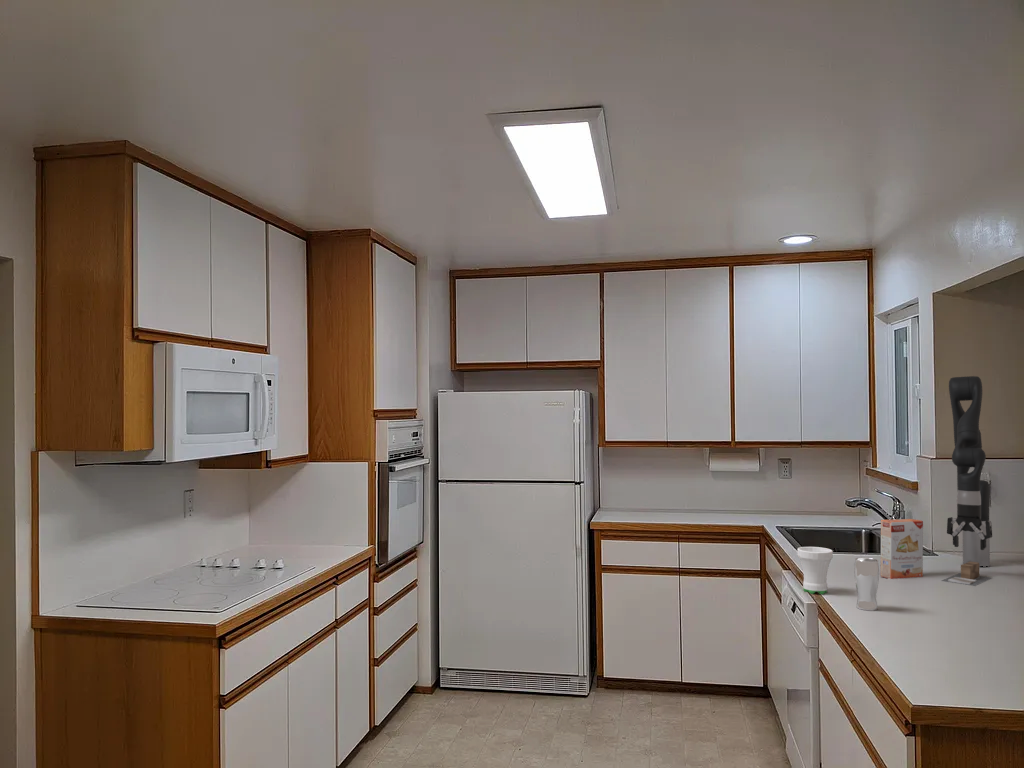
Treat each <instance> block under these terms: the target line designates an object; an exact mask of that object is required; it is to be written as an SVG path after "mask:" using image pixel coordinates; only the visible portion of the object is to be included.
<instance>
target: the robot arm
mask: <svg viewBox="0 0 1024 768" xmlns="http://www.w3.org/2000/svg"><path fill="white" fill-rule="evenodd" d="M948 392H949V398H950V405H951V407H950V408H951V410H952V411H951V412H952V421H953V426H952V427H953V440H954V449H953V452H952V454H951V461H952V463H953V465H955V467H956V470H957V471H956V474H957V475H956V477H957V478H956V480H957V481H956V482H957V483H956V484H957V485H956V486H957V488H956V489H957V495H956V503H957V504H956V505H957V506H956V515H957V516H956V518H954V517H947V521H946V522H947V523H946V534H947V535H950V536H951V537H952V545H953V546H954V547H955V548H958V547H959V545H960V544H959V543H960V541H959V539H960V538H959V536H958V535H959V534H960V533H961V532H962V564H965V563H968V562H970V561H971V562H978V563H979V566H983V567H982V568H985V567H986V566H988V567H991V561H990V559H991V557H990V555H991V553H990V551H991V549H990V548H991V547H990V539H992V537H993V528H992V527H993V525H992V521H991V520H990V501H991V500H990V499H991V486H990V483H989V481H987V480H984V479H983V480H982V479H981V475H982V471H983V468H984V465H985V463H986V458H987V455H986V452H985V451H984V449H983V443H982V442H983V441H982V433H981V431H980V417H981V416H980V415H981V410H982V402H983V401H982V400H983V383H982V379H981V378H980V377H979V376H976V375H973V376H972V375H971V376H952V377H951V378H950V379H949V381H948ZM962 401H963V402H964V401H968V402H969V401H971V403H970V405H969V407H968V408H967V410H966V411H965V410H964V408H963V406H962V403H961V402H962ZM971 468H973V470H972V471H971V472H969V470H970V469H971ZM955 523H957V525H958V527H956V528H955V530H954V524H955ZM986 568H987V567H986Z"/></svg>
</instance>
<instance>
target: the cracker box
mask: <svg viewBox="0 0 1024 768" xmlns="http://www.w3.org/2000/svg"><path fill="white" fill-rule="evenodd" d="M923 558H924V521H923V520H921V519H916V518H915V519H914V518H903V519H900V518H898V519H894V518H893V519H880V577H882V578H884V579H890V580H894V579H908V578H923V575H924V574H923V571H924V570H923V568H924V566H923V565H924V563H923V562H924V559H923Z"/></svg>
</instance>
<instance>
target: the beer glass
mask: <svg viewBox="0 0 1024 768" xmlns="http://www.w3.org/2000/svg"><path fill="white" fill-rule="evenodd" d="M879 566H880V565H879V560H878V559H877V558H872V557H856V558H854V581H855V587H856V591H857V602H856V608H857V609H858V610H861V611H867V612H872V611H873V612H875V611H878V608H879V607H878V601H877V595H878V594H877V593H878V589H879V582H880V567H879Z"/></svg>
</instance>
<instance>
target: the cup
mask: <svg viewBox="0 0 1024 768" xmlns="http://www.w3.org/2000/svg"><path fill="white" fill-rule="evenodd" d="M797 557H798V558H799V561H800V564H801V567H802V570H803V571H802V572H803V582H802V585H803V586H802V589H803V592H804V593H809V594H810V595H814V594H816V593H818V594H819V595H824V594H827V593H828V582H827V580H828V578H827V577H828V571H829V567H830V563H831V561H832V560H833V557H834V555H833V550H832V549H830V548H826V547H821V546H820V547H819V546H801V547H800V546H799V547H797Z"/></svg>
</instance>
